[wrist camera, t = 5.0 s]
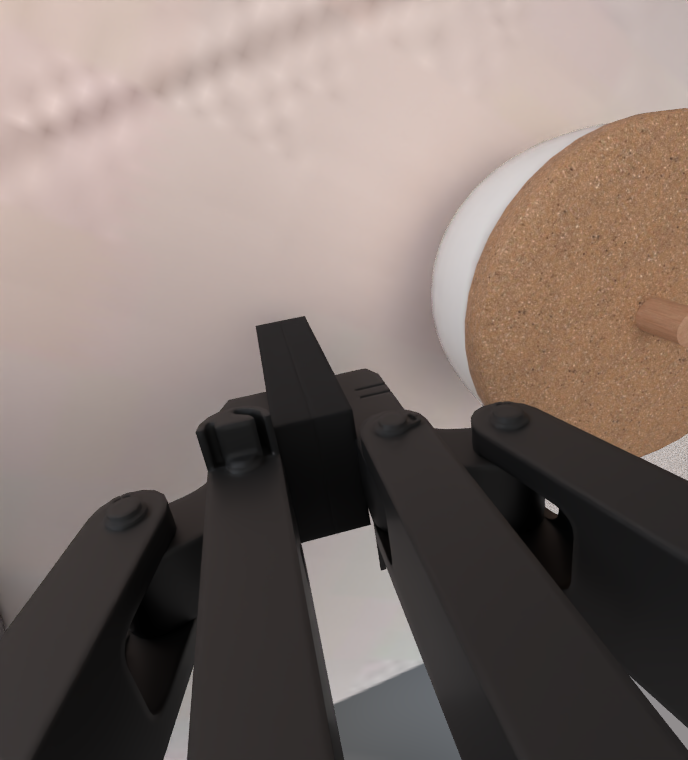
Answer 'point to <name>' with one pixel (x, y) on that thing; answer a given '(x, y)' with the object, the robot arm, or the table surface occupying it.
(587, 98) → the table surface
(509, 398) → the trinket box
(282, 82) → the table surface
